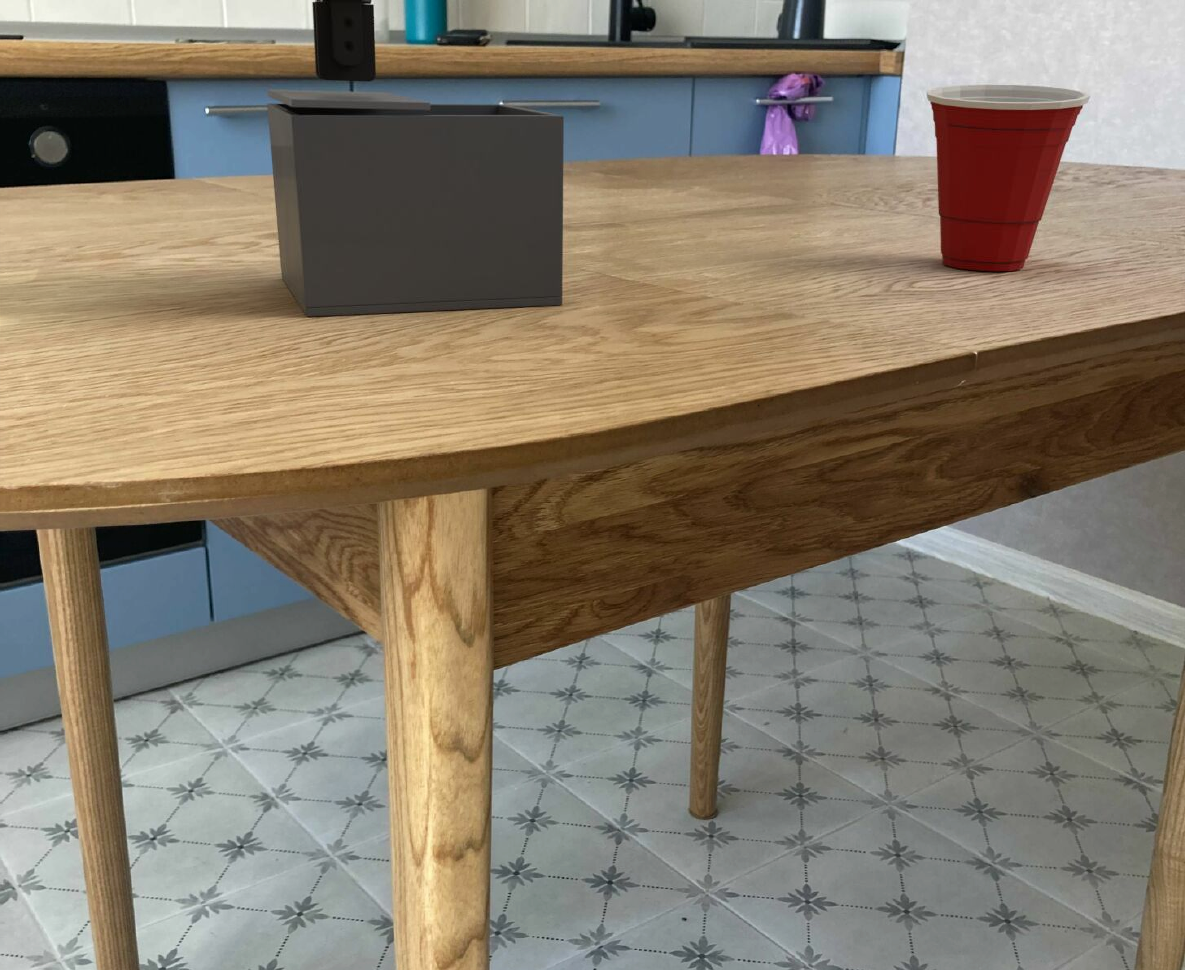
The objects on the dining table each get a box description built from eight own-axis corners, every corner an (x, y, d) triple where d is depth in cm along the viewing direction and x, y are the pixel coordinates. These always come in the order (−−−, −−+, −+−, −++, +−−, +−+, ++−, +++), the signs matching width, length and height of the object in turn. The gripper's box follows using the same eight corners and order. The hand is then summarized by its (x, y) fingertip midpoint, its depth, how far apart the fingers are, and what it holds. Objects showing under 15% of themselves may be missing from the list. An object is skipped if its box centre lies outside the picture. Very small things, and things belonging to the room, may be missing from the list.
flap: (291, 107, 66) (291, 98, 66) (267, 96, 77) (267, 89, 77) (430, 110, 68) (430, 102, 68) (387, 99, 79) (387, 92, 79)
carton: (306, 316, 70) (291, 115, 66) (281, 277, 81) (267, 103, 77) (562, 305, 75) (564, 115, 70) (505, 269, 86) (503, 104, 81)
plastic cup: (894, 271, 88) (915, 86, 83) (917, 250, 97) (937, 82, 92) (1056, 283, 85) (1088, 91, 80) (1064, 261, 94) (1093, 87, 89)
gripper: (433, -332, 60) (437, 87, 67) (378, -268, 72) (387, 78, 80) (270, -354, 57) (294, 82, 65) (244, -283, 70) (266, 74, 78)
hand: (345, 79), depth 72 cm, fingers closed
